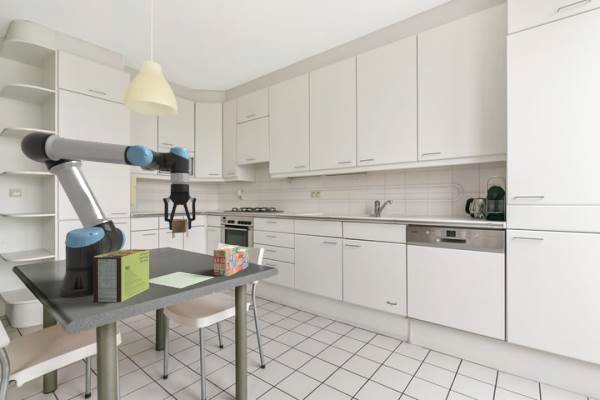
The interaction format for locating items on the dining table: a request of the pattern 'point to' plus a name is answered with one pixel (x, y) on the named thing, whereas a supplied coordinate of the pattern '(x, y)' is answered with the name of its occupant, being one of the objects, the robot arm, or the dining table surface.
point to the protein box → (120, 275)
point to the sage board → (179, 279)
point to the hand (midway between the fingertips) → (180, 237)
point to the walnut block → (179, 226)
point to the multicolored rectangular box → (230, 260)
